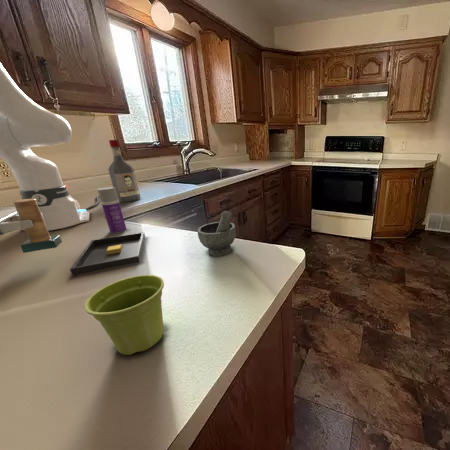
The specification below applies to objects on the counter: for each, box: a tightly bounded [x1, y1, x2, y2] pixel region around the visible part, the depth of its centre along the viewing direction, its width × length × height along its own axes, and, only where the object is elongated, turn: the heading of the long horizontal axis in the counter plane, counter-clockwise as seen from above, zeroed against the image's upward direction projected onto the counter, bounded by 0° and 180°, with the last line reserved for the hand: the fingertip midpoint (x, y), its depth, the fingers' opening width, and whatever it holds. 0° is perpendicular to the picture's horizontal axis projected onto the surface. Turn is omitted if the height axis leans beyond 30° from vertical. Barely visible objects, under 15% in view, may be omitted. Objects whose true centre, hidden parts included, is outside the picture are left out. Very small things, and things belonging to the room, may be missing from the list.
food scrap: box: [107, 245, 122, 255], centre depth 67 cm, size 3×3×1 cm
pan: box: [69, 231, 146, 276], centre depth 66 cm, size 19×13×2 cm
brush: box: [12, 199, 63, 254], centre depth 59 cm, size 4×6×12 cm, turn 117°
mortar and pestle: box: [197, 210, 237, 257], centre depth 65 cm, size 11×9×12 cm
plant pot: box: [83, 274, 165, 356], centre depth 36 cm, size 9×9×9 cm
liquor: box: [108, 139, 141, 203], centre depth 124 cm, size 9×9×30 cm
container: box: [97, 186, 127, 234], centre depth 81 cm, size 5×5×15 cm
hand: (37, 219), depth 59 cm, fingers closed on brush, 3 cm apart
